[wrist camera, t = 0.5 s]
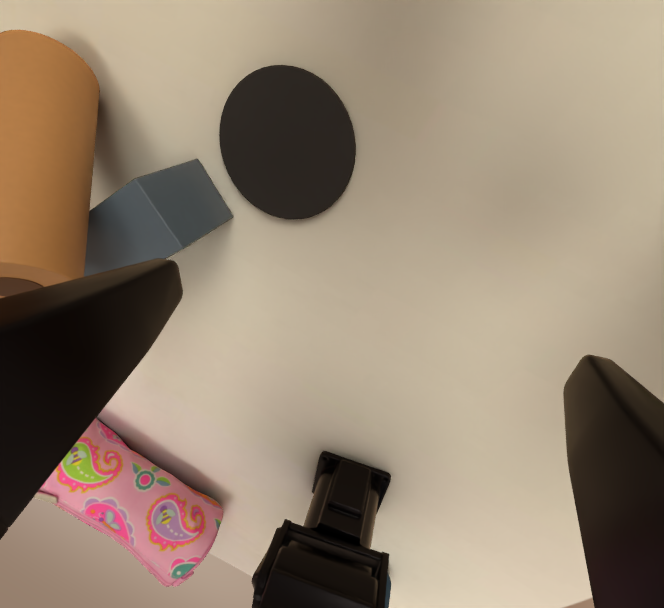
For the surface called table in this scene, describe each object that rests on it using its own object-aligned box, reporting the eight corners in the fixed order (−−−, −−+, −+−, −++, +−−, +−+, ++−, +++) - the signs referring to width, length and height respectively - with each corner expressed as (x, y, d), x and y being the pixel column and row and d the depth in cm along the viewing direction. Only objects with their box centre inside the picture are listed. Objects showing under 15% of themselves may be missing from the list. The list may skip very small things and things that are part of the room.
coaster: (342, 231, 23) (340, 233, 23) (222, 200, 24) (219, 202, 24) (369, 81, 19) (368, 81, 18) (222, 52, 20) (218, 51, 19)
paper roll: (208, 221, 25) (36, 324, 15) (160, 248, 27) (-19, 355, 17) (75, 17, 21) (-306, -42, 10) (30, 69, 23) (-320, 63, 12)
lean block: (234, 216, 24) (183, 249, 20) (147, 263, 28) (87, 300, 24) (198, 158, 23) (134, 178, 18) (112, 216, 27) (41, 244, 22)
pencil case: (61, 421, 44) (-18, 491, 37) (78, 383, 39) (-10, 455, 32) (209, 521, 47) (163, 605, 40) (242, 498, 42) (197, 589, 35)
